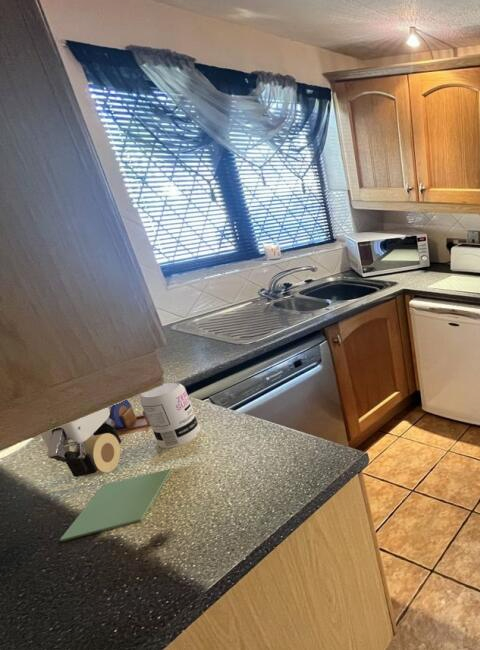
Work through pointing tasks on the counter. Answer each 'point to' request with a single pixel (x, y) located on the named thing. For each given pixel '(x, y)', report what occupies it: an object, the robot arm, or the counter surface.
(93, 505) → the mat
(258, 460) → the counter surface
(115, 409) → the vinyl tape
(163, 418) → the supplement can
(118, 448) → the masking tape
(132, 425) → the tape rack
